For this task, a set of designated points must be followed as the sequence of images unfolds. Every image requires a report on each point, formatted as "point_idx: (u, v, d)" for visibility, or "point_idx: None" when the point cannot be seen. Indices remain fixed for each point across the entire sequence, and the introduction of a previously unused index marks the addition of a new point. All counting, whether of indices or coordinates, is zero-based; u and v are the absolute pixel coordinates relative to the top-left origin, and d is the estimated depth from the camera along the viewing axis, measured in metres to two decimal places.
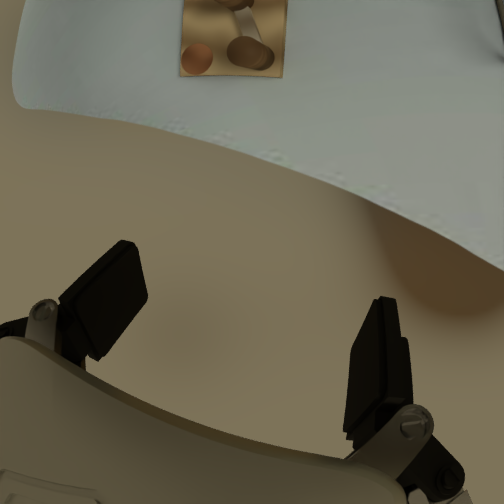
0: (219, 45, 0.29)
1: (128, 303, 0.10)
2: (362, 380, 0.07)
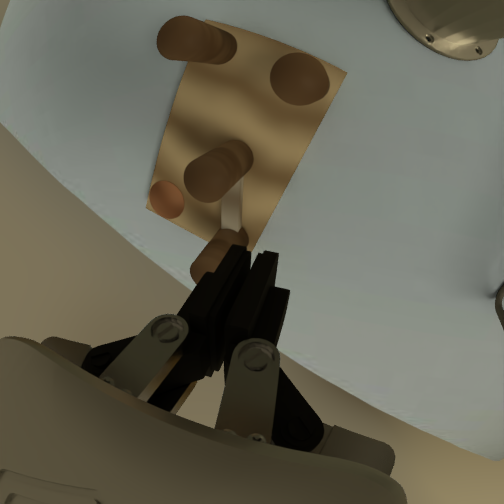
0: (194, 199, 0.30)
1: None
2: None
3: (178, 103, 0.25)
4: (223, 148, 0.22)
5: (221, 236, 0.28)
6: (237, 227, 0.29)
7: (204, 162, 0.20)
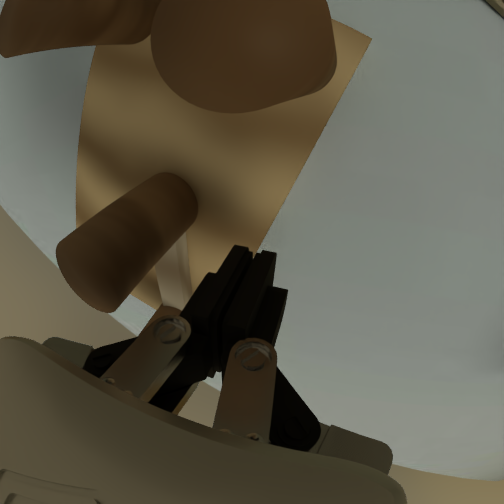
0: None
1: None
2: None
3: (87, 115, 0.14)
4: (126, 202, 0.11)
5: None
6: None
7: (73, 248, 0.09)
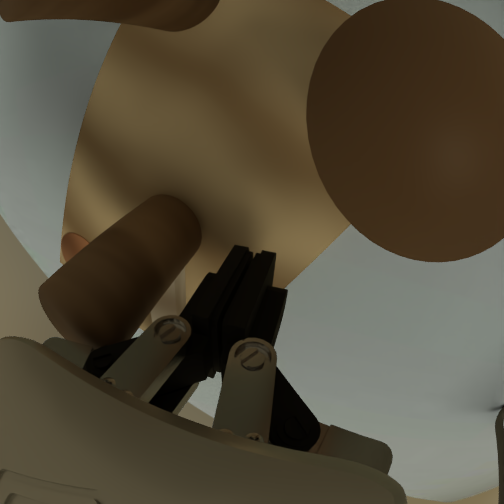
0: None
1: None
2: None
3: (95, 108, 0.11)
4: (122, 234, 0.09)
5: None
6: None
7: (60, 296, 0.07)
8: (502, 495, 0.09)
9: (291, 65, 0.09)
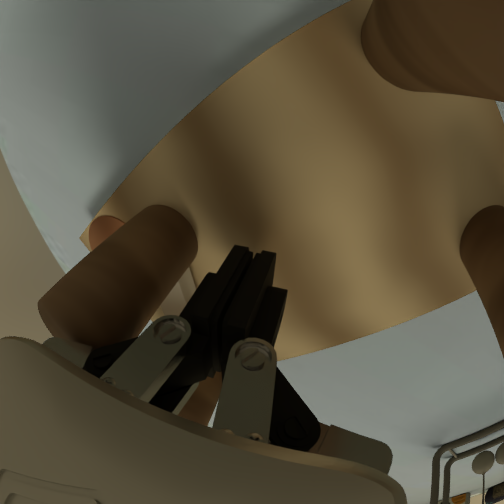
0: None
1: None
2: None
3: (230, 96, 0.10)
4: (108, 245, 0.10)
5: None
6: None
7: (52, 307, 0.07)
8: None
9: (463, 185, 0.09)
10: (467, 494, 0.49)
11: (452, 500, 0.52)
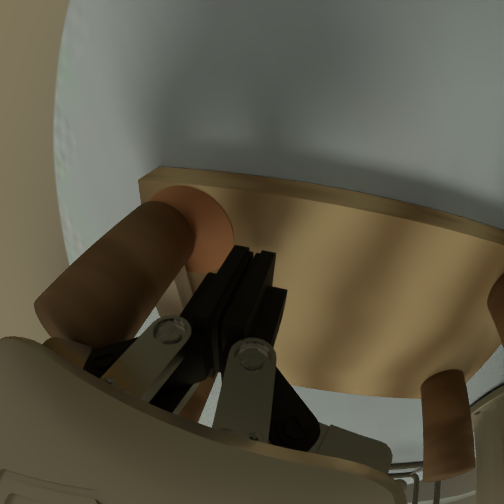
0: None
1: None
2: None
3: (430, 238, 0.10)
4: (107, 243, 0.09)
5: None
6: None
7: (50, 308, 0.07)
8: None
9: (458, 356, 0.14)
10: None
11: None
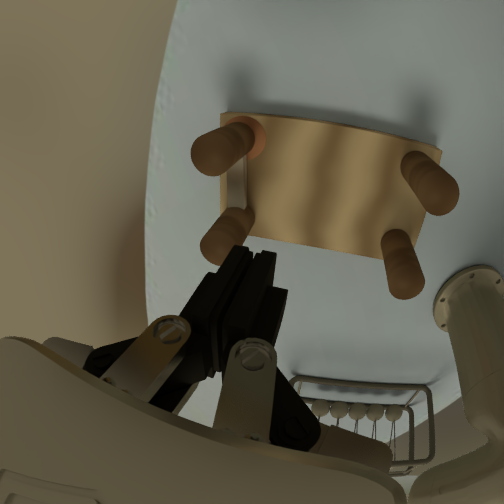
0: (259, 169, 0.29)
1: None
2: None
3: (355, 134, 0.24)
4: (226, 127, 0.23)
5: (228, 213, 0.29)
6: (243, 205, 0.30)
7: (210, 137, 0.21)
8: None
9: (398, 216, 0.27)
10: None
11: None
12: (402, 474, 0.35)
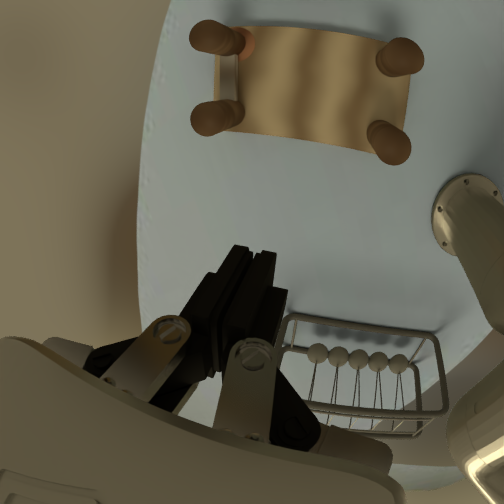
0: (249, 68, 0.28)
1: None
2: None
3: (332, 36, 0.23)
4: None
5: None
6: (233, 96, 0.29)
7: (205, 22, 0.20)
8: None
9: (380, 107, 0.26)
10: None
11: None
12: (411, 437, 0.34)
